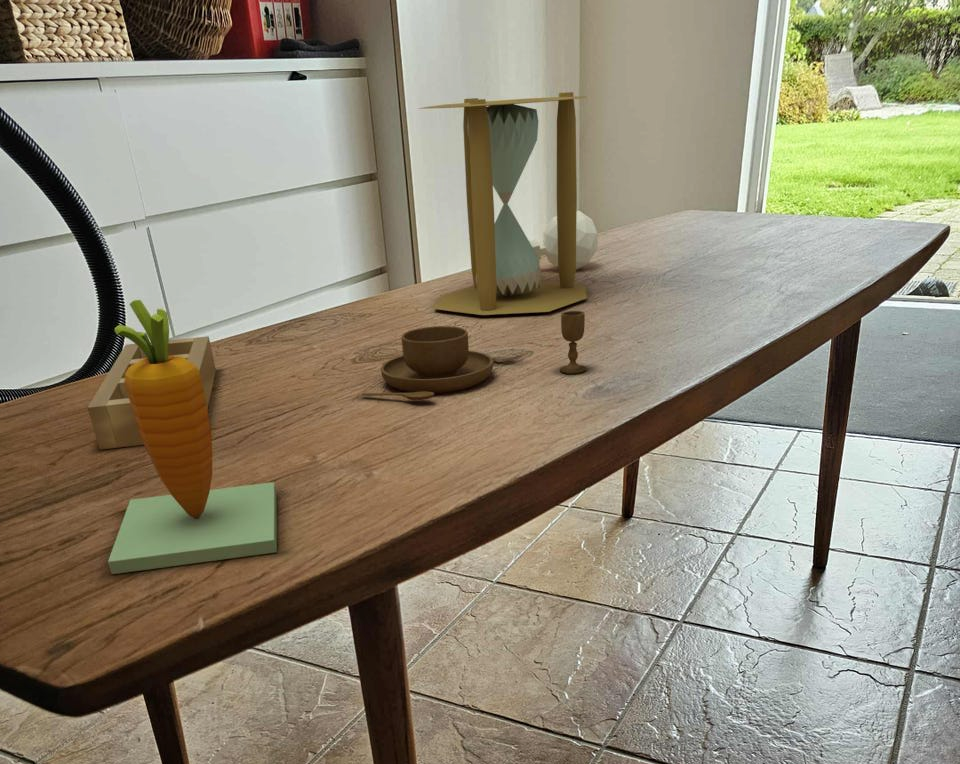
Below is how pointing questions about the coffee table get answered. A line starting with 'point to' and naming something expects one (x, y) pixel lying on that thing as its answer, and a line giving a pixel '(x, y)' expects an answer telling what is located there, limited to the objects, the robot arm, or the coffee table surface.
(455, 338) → the place setting
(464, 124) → the hourglass
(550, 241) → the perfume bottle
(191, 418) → the carrot
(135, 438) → the rack
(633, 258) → the coffee table surface
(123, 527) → the mat
